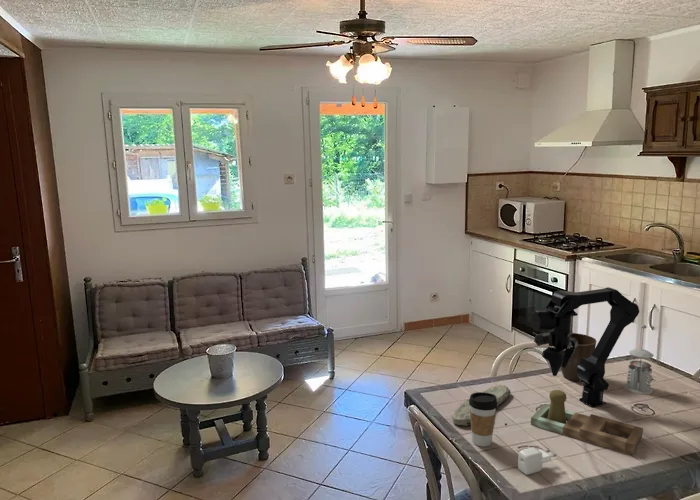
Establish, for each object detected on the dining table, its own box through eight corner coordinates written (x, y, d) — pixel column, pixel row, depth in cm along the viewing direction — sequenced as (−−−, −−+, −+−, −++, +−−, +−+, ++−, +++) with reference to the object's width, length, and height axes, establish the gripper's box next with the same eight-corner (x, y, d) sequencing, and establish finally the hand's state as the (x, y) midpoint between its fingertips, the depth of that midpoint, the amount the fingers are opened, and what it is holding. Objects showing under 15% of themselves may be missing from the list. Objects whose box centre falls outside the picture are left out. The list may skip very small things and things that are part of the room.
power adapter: (545, 459, 158) (547, 440, 157) (558, 467, 154) (559, 448, 153) (515, 468, 154) (516, 449, 153) (527, 477, 150) (528, 457, 149)
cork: (565, 420, 181) (567, 389, 180) (566, 428, 176) (568, 396, 174) (546, 417, 183) (548, 386, 182) (546, 425, 178) (548, 394, 176)
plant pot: (548, 369, 224) (550, 332, 221) (584, 369, 223) (587, 332, 220) (560, 385, 209) (563, 345, 206) (600, 385, 209) (603, 345, 206)
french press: (654, 386, 207) (659, 323, 202) (651, 398, 197) (657, 331, 193) (625, 381, 212) (630, 319, 208) (621, 392, 202) (626, 327, 198)
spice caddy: (642, 438, 169) (642, 428, 169) (632, 455, 160) (633, 444, 159) (544, 410, 188) (544, 401, 188) (530, 424, 179) (531, 414, 178)
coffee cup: (490, 451, 163) (492, 404, 160) (463, 444, 167) (465, 398, 165) (499, 439, 170) (501, 393, 167) (473, 432, 174) (474, 388, 172)
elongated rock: (517, 399, 201) (492, 393, 207) (517, 385, 200) (492, 379, 207) (472, 431, 174) (444, 423, 181) (472, 415, 174) (444, 407, 180)
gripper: (547, 317, 198) (545, 358, 201) (528, 330, 184) (526, 374, 187) (579, 323, 191) (576, 365, 194) (561, 337, 177) (559, 382, 180)
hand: (559, 371), depth 189 cm, fingers open, 9 cm apart
